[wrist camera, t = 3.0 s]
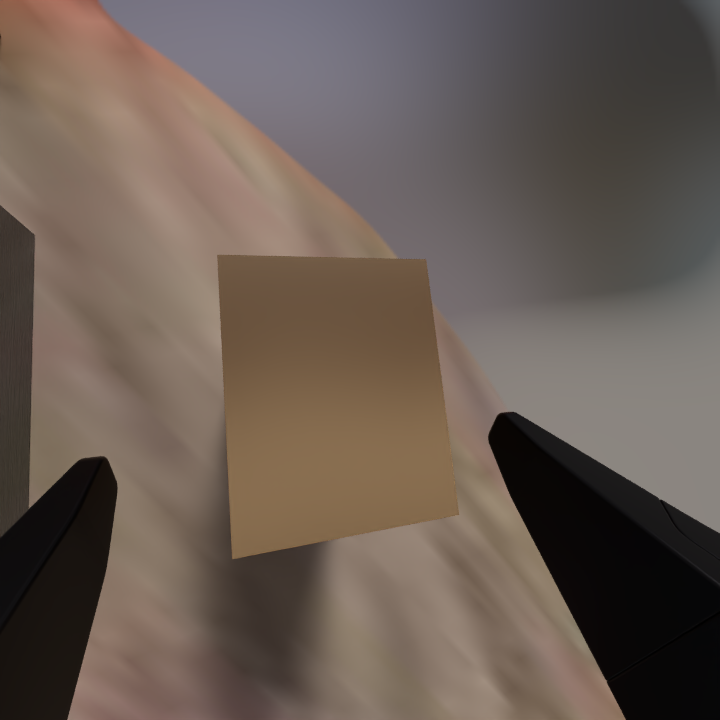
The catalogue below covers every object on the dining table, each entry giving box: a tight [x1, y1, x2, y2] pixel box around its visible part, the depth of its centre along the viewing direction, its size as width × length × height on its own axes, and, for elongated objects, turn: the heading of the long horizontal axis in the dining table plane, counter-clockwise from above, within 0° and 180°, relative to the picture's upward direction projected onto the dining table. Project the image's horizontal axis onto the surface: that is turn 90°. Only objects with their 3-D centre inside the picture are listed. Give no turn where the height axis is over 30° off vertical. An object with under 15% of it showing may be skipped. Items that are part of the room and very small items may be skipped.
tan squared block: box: [217, 255, 459, 559], centre depth 12 cm, size 5×4×11 cm
